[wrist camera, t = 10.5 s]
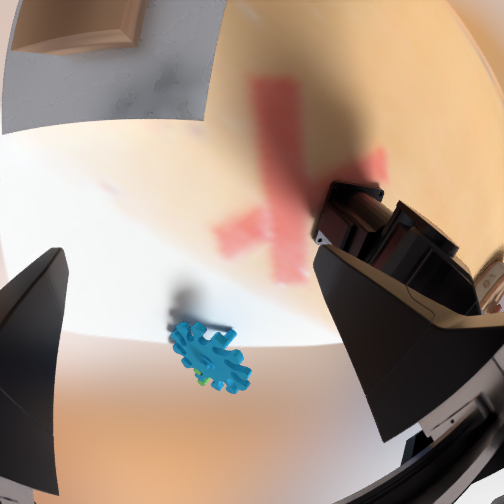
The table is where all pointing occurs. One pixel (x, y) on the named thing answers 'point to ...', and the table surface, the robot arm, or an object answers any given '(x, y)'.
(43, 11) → the walnut block
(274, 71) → the table surface
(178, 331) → the blue spiky blob
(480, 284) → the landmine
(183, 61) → the base plate
